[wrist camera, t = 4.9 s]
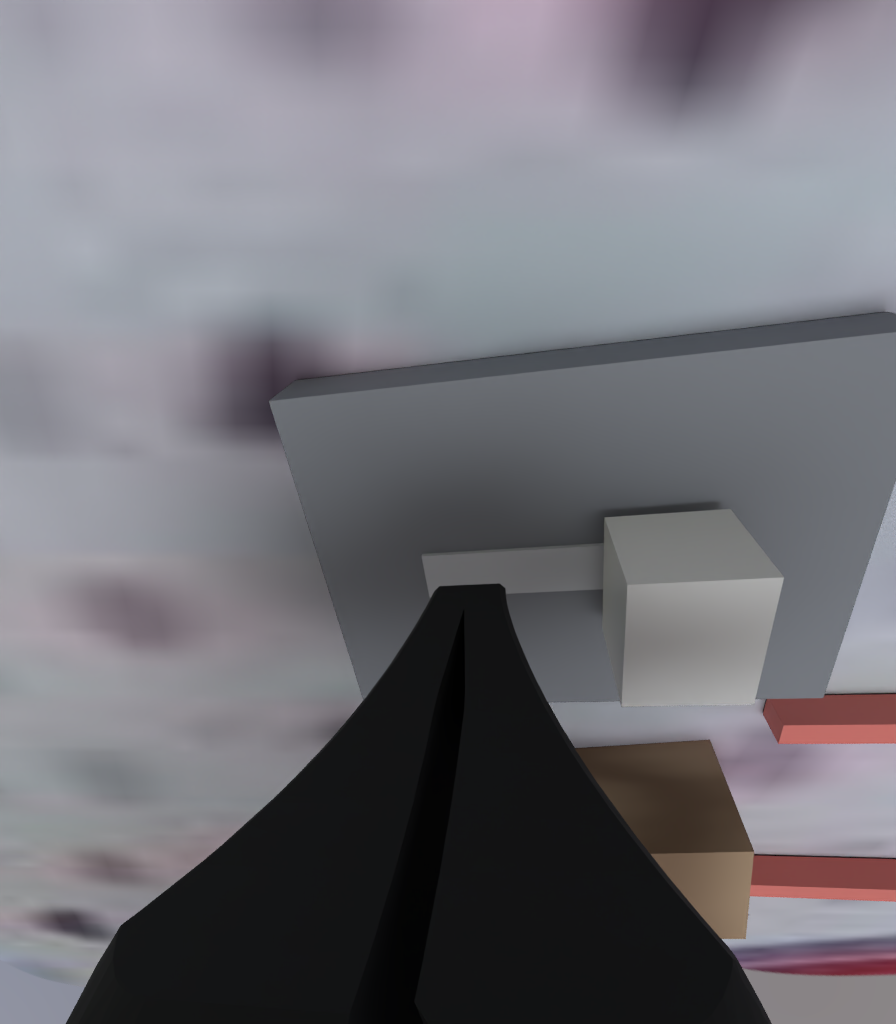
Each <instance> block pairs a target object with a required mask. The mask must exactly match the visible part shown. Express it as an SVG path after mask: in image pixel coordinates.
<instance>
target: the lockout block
mask: <svg viewBox="0 0 896 1024" xmlns="http://www.w3.org/2000/svg"><path fill="white" fill-rule="evenodd" d="M575 750H576V751H577V753H578V754H579V756H580V757H581V759H582V760H583V762H584V763H585V765H586V766H587V768H588V769H589V771H590V772H591V774H592V776H593V777H594V778H595V780H596V781H597V783H598V784H599V786H600V787H601V788H602V790H603V791H604V792H605V794H606V795H607V797H608V798H609V799H610V801H611V802H612V803H613V805H614V806H615V808H616V809H617V810H618V812H619V813H620V814H621V816H622V817H623V819H624V820H625V821H626V823H627V824H628V825H629V827H630V828H631V830H632V831H633V832H634V834H635V835H636V836H637V838H638V839H639V840H640V841H641V843H642V844H643V845H644V847H645V848H646V849H647V850H648V852H649V853H650V854H651V855H652V857H653V858H654V859H655V860H656V862H657V863H658V864H659V865H660V867H661V868H662V869H663V871H664V872H665V873H666V874H667V876H668V877H669V878H670V879H671V881H672V882H673V883H674V884H675V885H676V886H677V888H678V889H679V890H680V891H681V892H682V894H683V895H684V896H685V897H686V898H687V900H688V901H689V902H690V903H691V904H692V906H693V907H694V908H695V909H696V910H697V912H698V913H699V914H700V915H701V916H702V917H703V919H704V920H705V921H706V922H707V923H708V924H709V926H710V927H711V928H712V929H713V930H714V931H715V932H716V934H717V935H718V936H719V937H720V938H721V939H746V929H747V919H748V908H749V898H750V888H751V878H752V868H753V858H754V850H753V848H752V845H751V843H750V840H749V838H748V835H747V833H746V830H745V828H744V825H743V823H742V820H741V817H740V815H739V812H738V810H737V807H736V805H735V802H734V800H733V797H732V795H731V792H730V790H729V787H728V785H727V782H726V780H725V777H724V775H723V772H722V770H721V767H720V764H719V762H718V759H717V757H716V754H715V752H714V749H713V747H712V744H711V742H710V740H699V741H683V742H667V743H651V744H636V745H620V746H604V747H588V748H575Z"/></svg>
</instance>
